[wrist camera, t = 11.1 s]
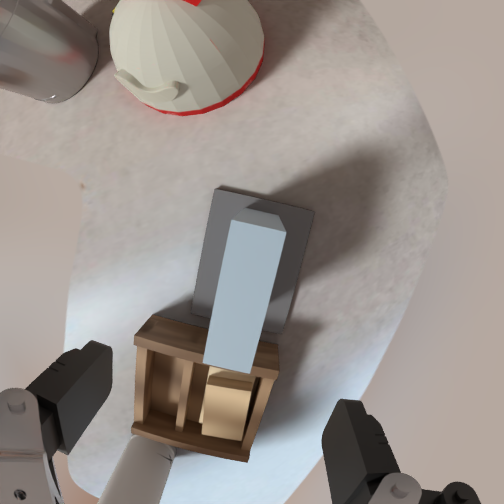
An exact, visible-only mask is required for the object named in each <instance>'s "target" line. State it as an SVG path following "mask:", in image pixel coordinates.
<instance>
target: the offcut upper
mask: <svg viewBox="0 0 504 504" xmlns="http://www.w3.org/2000/svg"><path fill="white" fill-rule="evenodd" d="M251 391H252V382H247V381H241V380H234V379H228V378H222V377H217V376H211V375H209V378H208V381H207V385H206V394H205V404H204V414H203V425H202V434H203V435H208V436H214V437H220V438H226V439H232V440H239V441H241V440H242V436H243V431H244V426H245V421H246V416H247V411H248V406H249V401H250V396H251Z"/></svg>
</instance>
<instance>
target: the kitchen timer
mask: <svg viewBox="0 0 504 504" xmlns="http://www.w3.org/2000/svg"><path fill="white" fill-rule="evenodd" d="M109 35H110V50H111V55H112V58H113V61H114V64H115V66H116V69H117V71H118V72H117V73H116V74H115V77H116V79H117V80H118V81H119V82H120V83H121V84H122V85H123V86H124V87H125V88H126V89H128V90H129V91H130V92H131V93H132V94H133V95H134V96H135V97H136V98H138V99H139V100H140V101H141V102H142V103H144V104H145V105H147V106H149V107H151V108H153V109H155V110H157V111H159V112H162V113H164V114H172V115H179V116H188V115H196V114H204V113H207V112H209V111H212V110H214V109H217V108H220V107H222V106H225V105H226V104H227V103H229V102H230V101H232V100H233V99H235V98H236V97H238V96H239V95H241V94H242V93H243V92H244V91H245V89H246V88H247V87H248V86H249V85H250V84H251V82H252V81H253V80H254V79H255V77H256V75H257V73H258V71H259V68H260V66H261V64H262V62H263V54H264V34H263V30H262V26H261V23H260V19H259V16H258V14H257V12H256V11H255V10H254V8H253V7H252V6H251V4H250V3H249V2H248V0H120V1H119V3H118V4H117V6H116V7H115V8H114V9H113V14H112V21H111V25H110V30H109Z"/></svg>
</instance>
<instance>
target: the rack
mask: <svg viewBox="0 0 504 504" xmlns="http://www.w3.org/2000/svg"><path fill="white" fill-rule="evenodd" d="M208 332H209V329H205V328H201V327H197V326H193V325H189V324H186V323H182V322H178V321H174V320H171V319H167V318H163V317H160V316H156V315H153V314H152V316H151V317H150V318H149V319H148V320H147V321H146V322H145V324H144V325H143V326H142V327H141V328H140V329H139V331H138V332H137V333H136V334H135V335H134V345H136V346H137V356H136V374H135V401H134V423H133V425H132V427H131V433H133V434H136V435H139V436H142V437H145V438H148V439H151V440H154V441H157V442H161V443H164V444H167V445H171V446H175V447H178V448H182V449H186V450H190V451H194V452H198V453H202V454H206V455H211V456H215V457H220V458H225V459H230V460H236V461H241V462H248V460H249V456H250V449H251V447H252V444H253V441H254V438H255V435H256V433H257V430H258V427H259V424H260V421H261V418H262V415H263V413H264V410H265V407H266V404H267V401H268V398H269V395H270V392H271V389H272V386H273V383H274V380H277V377H278V374H279V356H278V345H277V344H272V343H267V342H262V341H259V342H258V345H257V349H256V353H255V357H254V360H253V364H252V368H251V371H250V374H248V373H244V372H239V371H234V370H230V369H225V368H221V367H217V366H213V365H208V364H204V363H203V358H204V353H205V347H206V342H207V337H208ZM210 366H211V367H216V368H220V369H224V370H229V371H233V372H238V373H242V374H247V375H252V376H256V378H255V382H254V385H253V388H252V392H251V396H250V401H249V406H248V411H247V416H246V421H245V426H244V431H243V436H242V440H241V441H239V440H232V439H226V438H220V437H214V436H208V435H203V434H202V425H203V424H202V423H199V419H200V414H201V409H202V404H203V399H204V394H205V388H206V383H207V378H208V373H209V368H210Z"/></svg>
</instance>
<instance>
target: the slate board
mask: <svg viewBox="0 0 504 504" xmlns="http://www.w3.org/2000/svg"><path fill="white" fill-rule="evenodd" d="M285 236H286V230H285V228H284V226H283V224H282V222H281V220H280V217H279V215H275V214H271V213H266V212H262V211H258V210H253V209H249V208H244V209H243V210H242V211H241V212H240V213H238V214H237V215H236V216H235V217H234V218H233V219H232V220H231V224H230V229H229V233H228V238H227V243H226V247H225V252H224V257H223V262H222V267H221V271H220V276H219V281H218V286H217V291H216V296H215V301H214V306H213V311H212V316H211V321H210V326H209V332H208V337H207V342H206V347H205V353H204V358H203V363H204V364H208V365H213V366H217V367H221V368H225V369H230V370H234V371H239V372H244V373H248V374H250V371H251V368H252V364H253V360H254V357H255V353H256V349H257V345H258V342H259V338H260V334H261V331H262V327H263V323H264V319H265V315H266V312H267V308H268V304H269V300H270V296H271V292H272V288H273V284H274V280H275V276H276V273H277V269H278V265H279V261H280V257H281V252H282V248H283V244H284V240H285Z"/></svg>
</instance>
